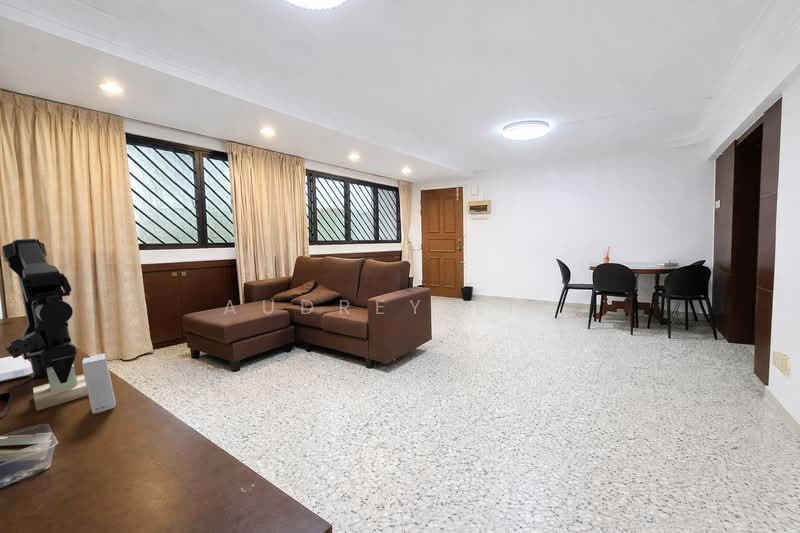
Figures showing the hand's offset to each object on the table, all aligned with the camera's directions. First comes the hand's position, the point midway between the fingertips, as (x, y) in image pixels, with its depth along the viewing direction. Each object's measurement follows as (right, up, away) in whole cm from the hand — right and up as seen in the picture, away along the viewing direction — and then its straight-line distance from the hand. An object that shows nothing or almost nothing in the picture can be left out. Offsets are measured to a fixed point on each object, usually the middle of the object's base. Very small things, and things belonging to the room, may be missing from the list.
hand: (62, 378), depth 93 cm
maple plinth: (0, -4, +1) cm, 4 cm away
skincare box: (+17, -5, -8) cm, 19 cm away
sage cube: (0, -2, 0) cm, 2 cm away
